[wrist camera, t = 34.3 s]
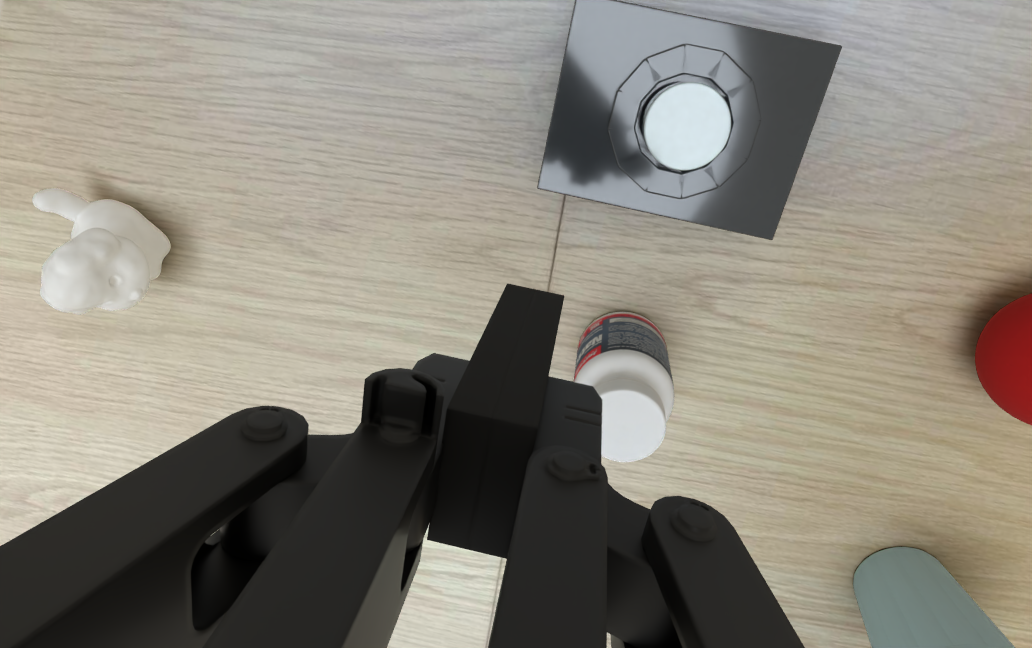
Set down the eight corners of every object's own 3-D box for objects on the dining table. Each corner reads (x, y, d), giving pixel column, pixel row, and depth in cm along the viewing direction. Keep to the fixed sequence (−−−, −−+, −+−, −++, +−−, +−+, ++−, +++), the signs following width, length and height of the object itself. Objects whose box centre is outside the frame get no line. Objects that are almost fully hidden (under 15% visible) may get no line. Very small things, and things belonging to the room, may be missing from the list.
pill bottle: (591, 299, 37) (585, 362, 29) (678, 322, 37) (696, 392, 29) (567, 377, 39) (556, 456, 31) (650, 399, 39) (660, 485, 31)
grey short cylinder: (632, 155, 29) (634, 160, 28) (654, 74, 28) (657, 74, 26) (709, 172, 29) (716, 178, 27) (734, 90, 28) (743, 91, 26)
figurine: (175, 305, 41) (80, 355, 34) (68, 234, 40) (-53, 269, 33) (207, 240, 39) (113, 277, 32) (94, 164, 38) (-29, 185, 31)
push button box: (543, 179, 35) (532, 194, 30) (580, 0, 31) (574, -14, 27) (758, 226, 34) (781, 249, 30) (820, 48, 31) (857, 43, 26)
